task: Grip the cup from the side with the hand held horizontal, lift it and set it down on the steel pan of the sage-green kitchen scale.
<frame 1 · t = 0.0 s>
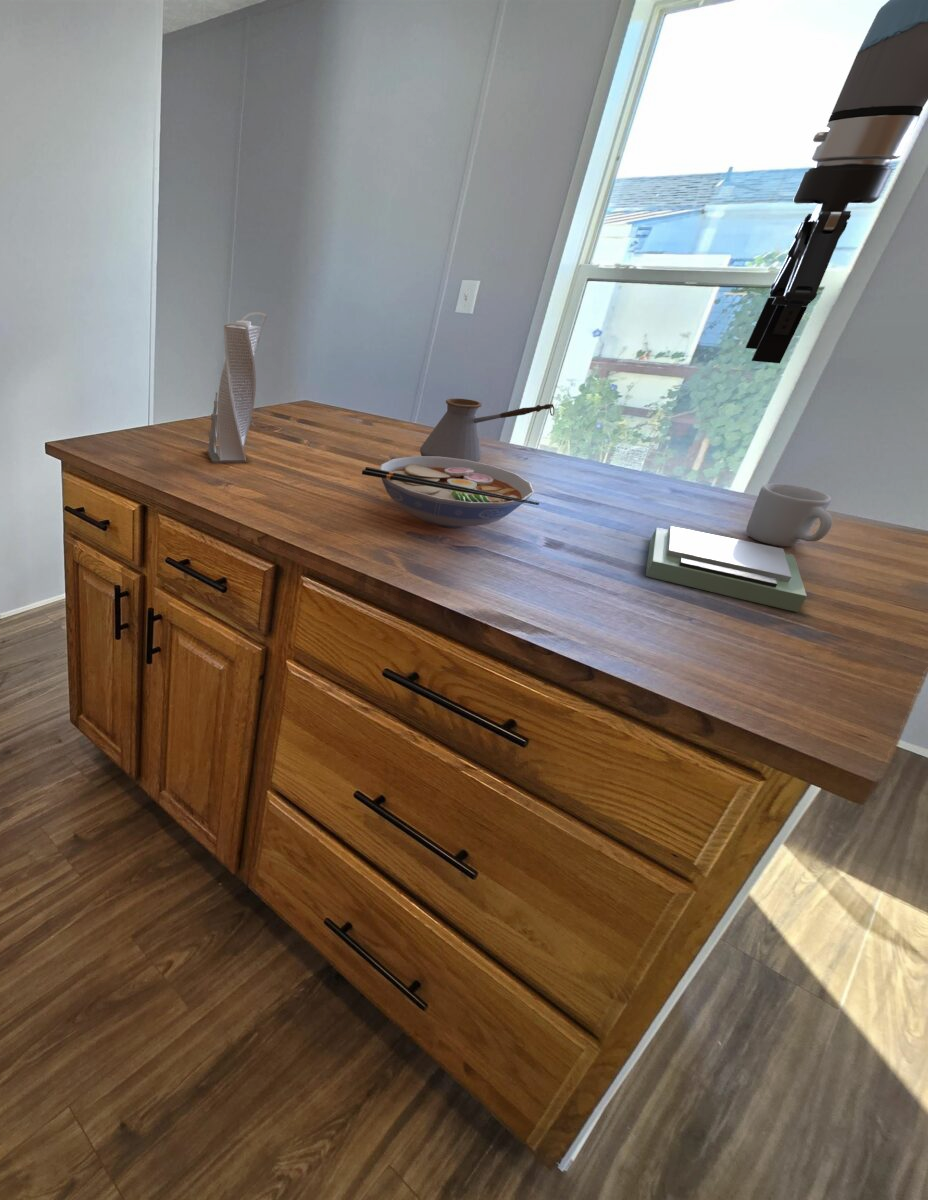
hand: (761, 355, 87), 28 cm above the counter, tool pointing down, fingers open, 13 cm apart
ramen bowl: (442, 521, 108), on the counter
coffee pot: (471, 472, 130), on the counter
scale: (716, 573, 92), on the counter
skyscraper: (229, 459, 136), on the counter
cup: (777, 545, 102), on the counter
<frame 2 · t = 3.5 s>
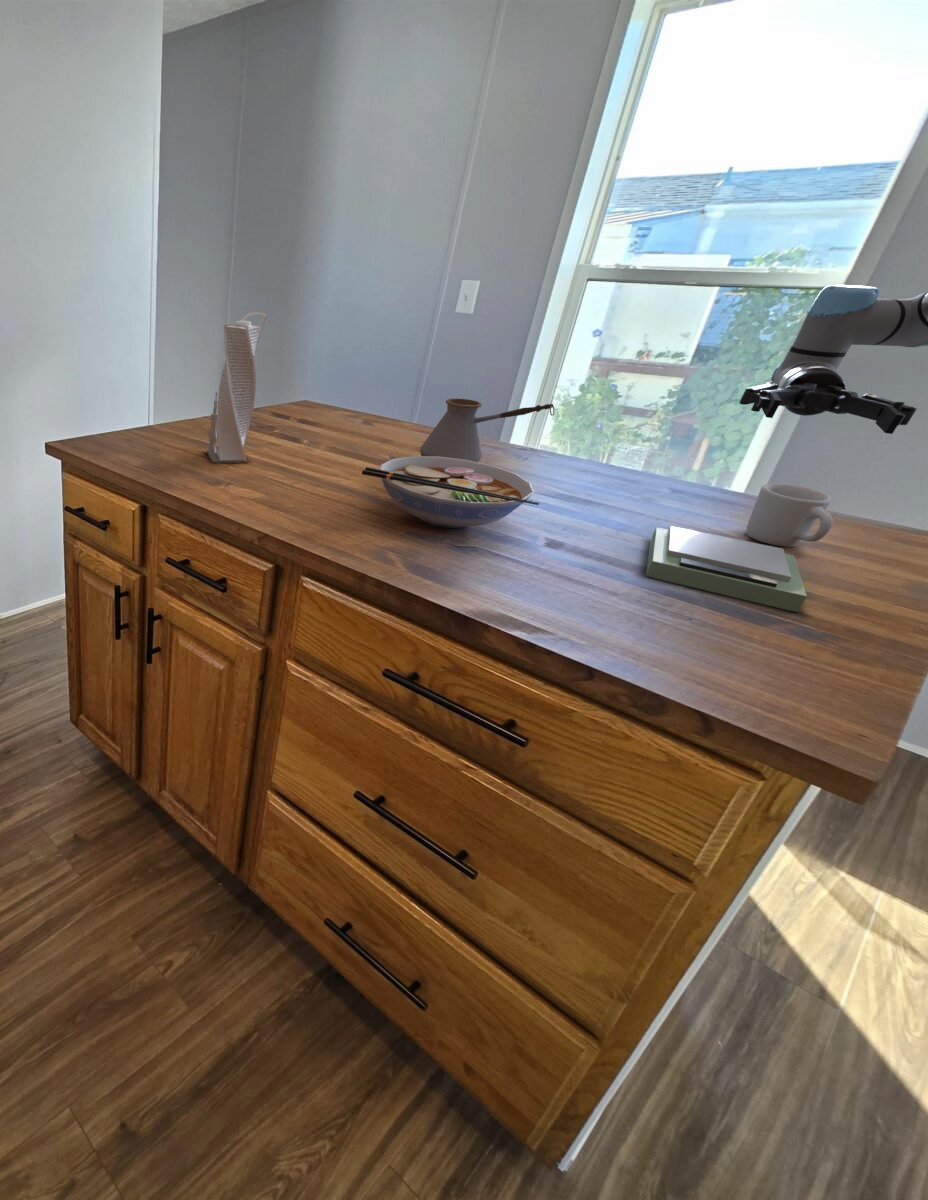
hand: (832, 416, 99), 18 cm above the counter, tool horizontal, fingers open, 13 cm apart
nothing on the counter moved.
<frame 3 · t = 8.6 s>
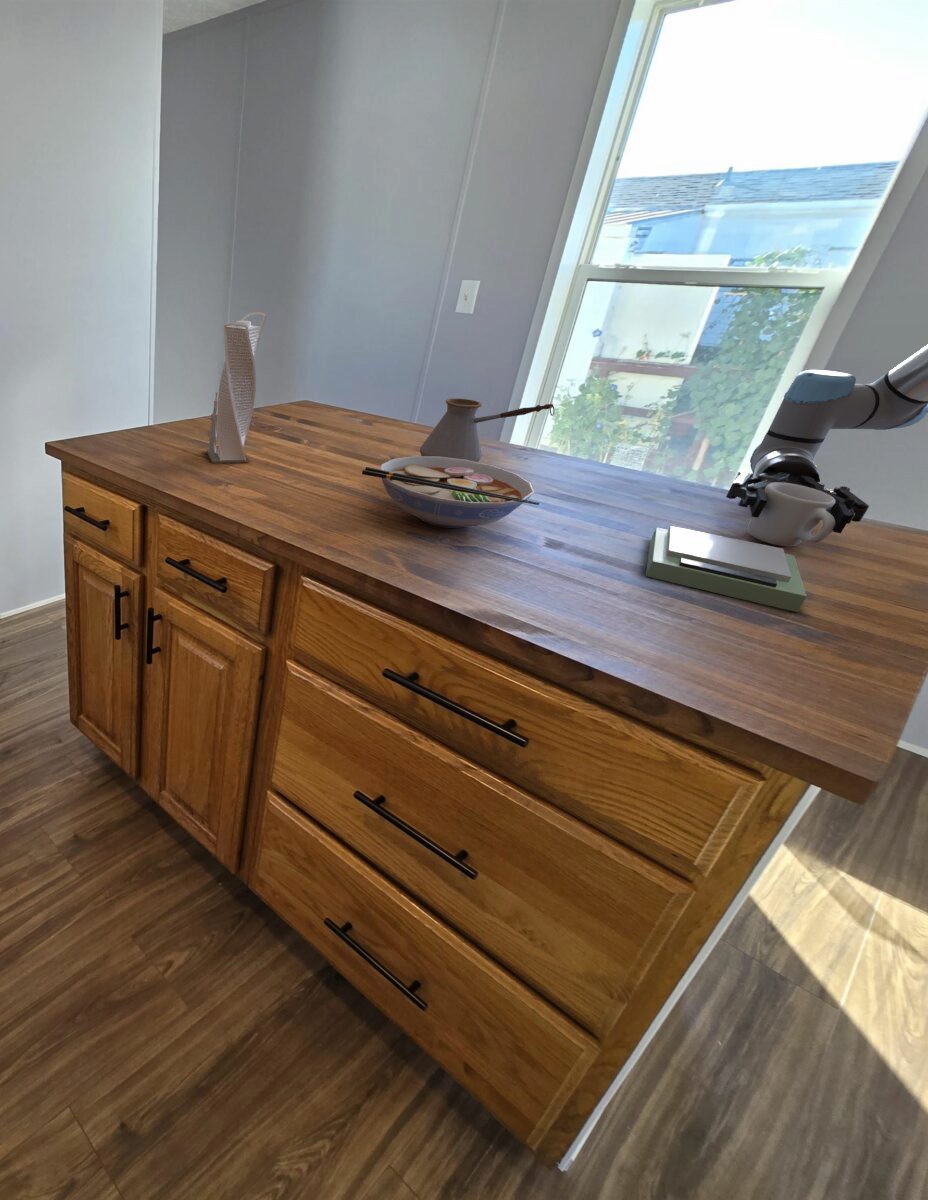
hand: (799, 516, 95), 6 cm above the counter, tool horizontal, fingers closed on cup, 8 cm apart
cup: (777, 544, 102), on the counter, touching gripper
everything else where it was.
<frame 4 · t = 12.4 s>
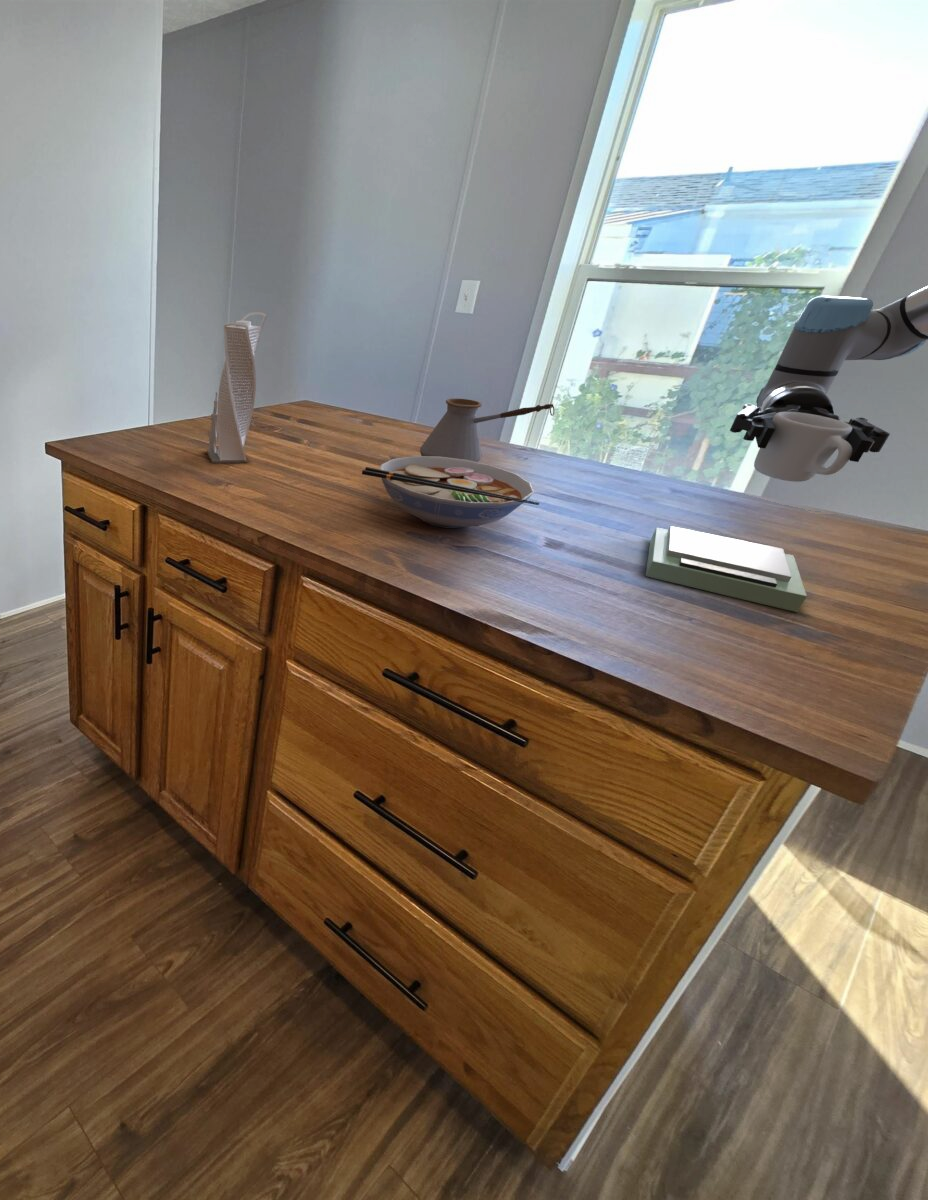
hand: (812, 444, 85), 18 cm above the counter, tool horizontal, fingers closed on cup, 8 cm apart
cup: (787, 480, 92), point 12 cm above the counter, touching gripper
everything else where it was.
when the fingers open (9 cm above the counter, at t = 16.5 s): cup stays where it is, resting on scale.
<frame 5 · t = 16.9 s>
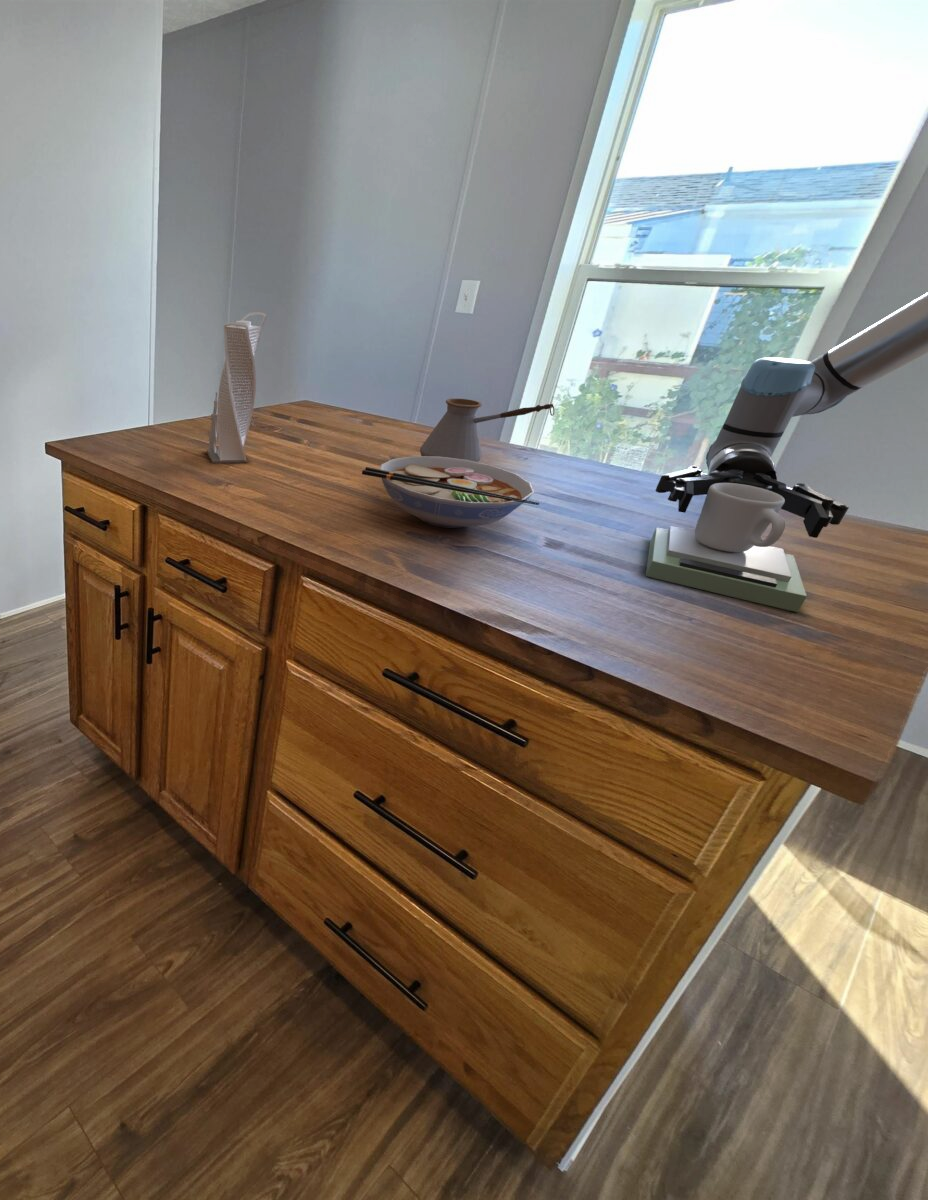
hand: (749, 514, 86), 9 cm above the counter, tool horizontal, fingers open, 13 cm apart
cup: (727, 550, 92), point 3 cm above the counter, touching scale
everything else where it was.
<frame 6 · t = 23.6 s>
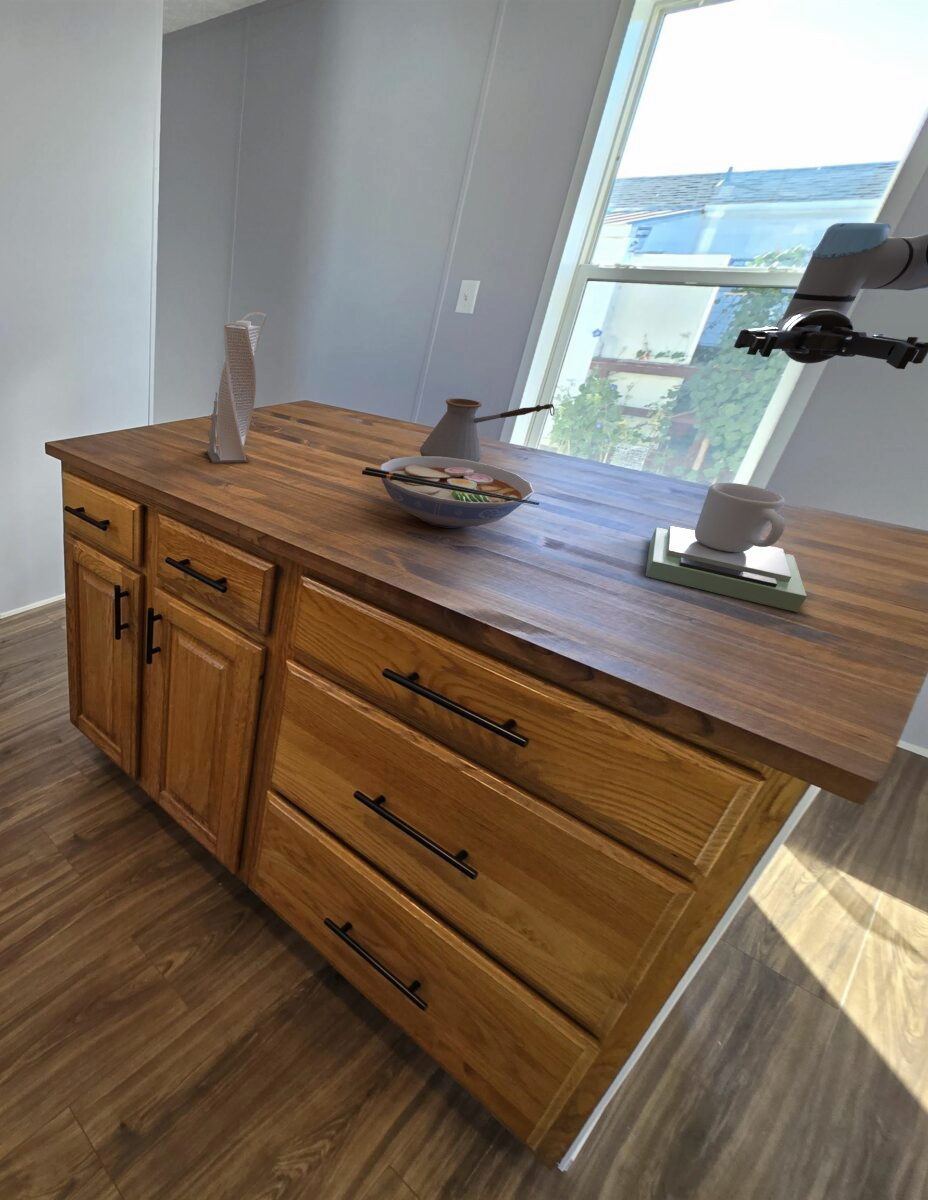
hand: (835, 352, 89), 28 cm above the counter, tool horizontal, fingers open, 13 cm apart
nothing on the counter moved.
at the end: cup inside the target area on the scale (0.2 cm from its centre), point 3.0 cm above the scale's base; cup tilted 0°; the gripper is holding nothing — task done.
